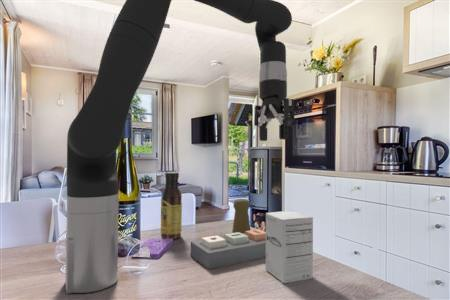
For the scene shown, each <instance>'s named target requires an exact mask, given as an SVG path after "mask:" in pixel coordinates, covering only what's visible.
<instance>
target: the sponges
mask: <svg viewBox="0 0 450 300" xmlns="http://www.w3.org/2000/svg"><path fill="white" fill-rule="evenodd" d="M173 244H174V239H164V238H151V237H149V238H148V239H146V241H145V242H143V243H142V244H141V245H140V246H141V247H140V248H143V247H148V248H149V249H150V257H151V258H150V259H160V258H161V257H162V255H163V254H165V252H166V251H167V250H169V248H170V247H171V246H172V245H173ZM137 253H138V252H137Z"/></svg>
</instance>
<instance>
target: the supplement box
mask: <svg viewBox="0 0 450 300" xmlns="http://www.w3.org/2000/svg"><path fill="white" fill-rule="evenodd" d="M265 232H266V257H265V271H267V272H268V273H270V274H271V275H273V277H275V278H277V279H278V280H279V281H280V282H281V283H282V284H287V283H289V284H290V283H293V282H299V281H306V280H311V279H313V278H314V268H313V267H314V265H313V264H314V259H313V258H314V256H313V255H314V249H313V248H314V245H313V244H314V243H313V242H314V217H313V216H309V215H306V214H304V213H300V212H297V211H293V210H285V211H284V210H283V211H274V212H273V211H271V212H265Z"/></svg>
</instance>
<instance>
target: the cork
mask: <svg viewBox="0 0 450 300" xmlns="http://www.w3.org/2000/svg"><path fill="white" fill-rule="evenodd" d="M250 206H251V205H250V202H249V200H248V199H245V198H238V199H235V200H234V201H233V206H232V207H233V208H234V216H233V223H232V232H231V233H236V232H240V233H242V234H243V233H245V231H250V230H251V224H250V216H249V209H250Z"/></svg>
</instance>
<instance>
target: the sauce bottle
mask: <svg viewBox="0 0 450 300" xmlns="http://www.w3.org/2000/svg"><path fill="white" fill-rule="evenodd" d="M164 174H165V175H164V177H165V187H164V189H163V192H162V195H161V198H160V205H161V206H160V236H161V239H173V240H174V239H176V240H177V239H179V238H180V237H181V235H182V234H181V233H182V216H183V215H182V211H183V209H182V208H183V206H182V205H183V204H182V197H183V196H182V192H181V190H180V189H179V177H180V172H178V171H166V172H165V173H164Z"/></svg>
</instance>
